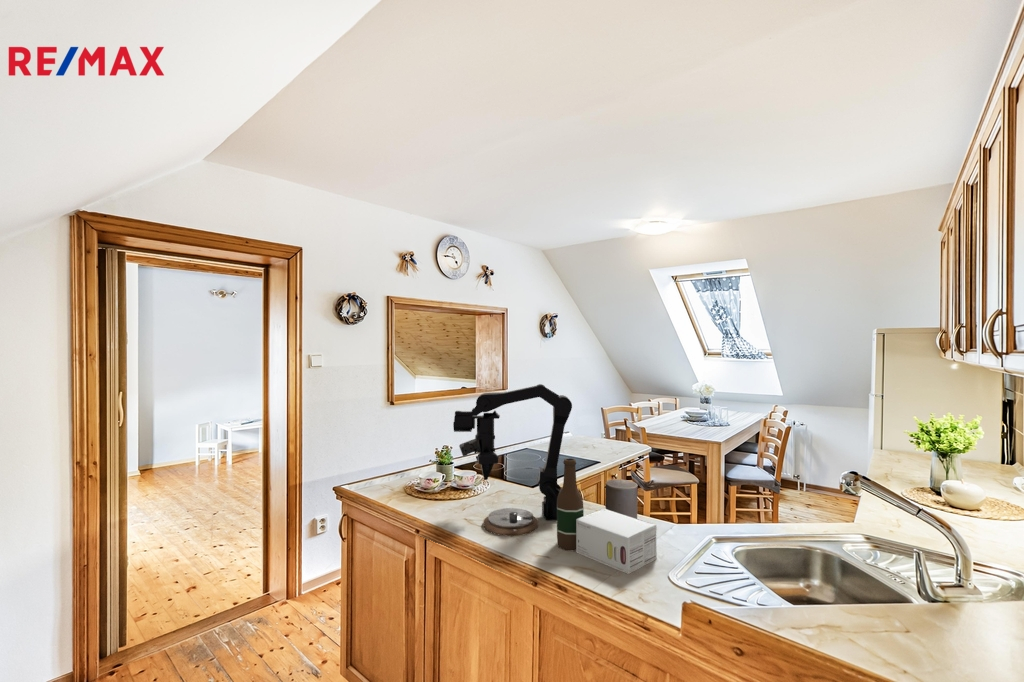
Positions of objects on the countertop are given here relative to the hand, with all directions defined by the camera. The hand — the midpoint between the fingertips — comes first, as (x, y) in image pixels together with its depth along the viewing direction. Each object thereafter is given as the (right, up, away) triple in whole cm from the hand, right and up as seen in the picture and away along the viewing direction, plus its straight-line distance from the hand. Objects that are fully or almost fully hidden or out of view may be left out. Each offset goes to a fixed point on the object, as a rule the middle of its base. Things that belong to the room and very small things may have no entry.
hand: (485, 479), depth 159 cm
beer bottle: (+25, -12, -24) cm, 36 cm away
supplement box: (+36, -12, -30) cm, 49 cm away
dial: (+8, -10, -8) cm, 16 cm away
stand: (+8, -12, -8) cm, 17 cm away
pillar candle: (+42, -12, -11) cm, 45 cm away
